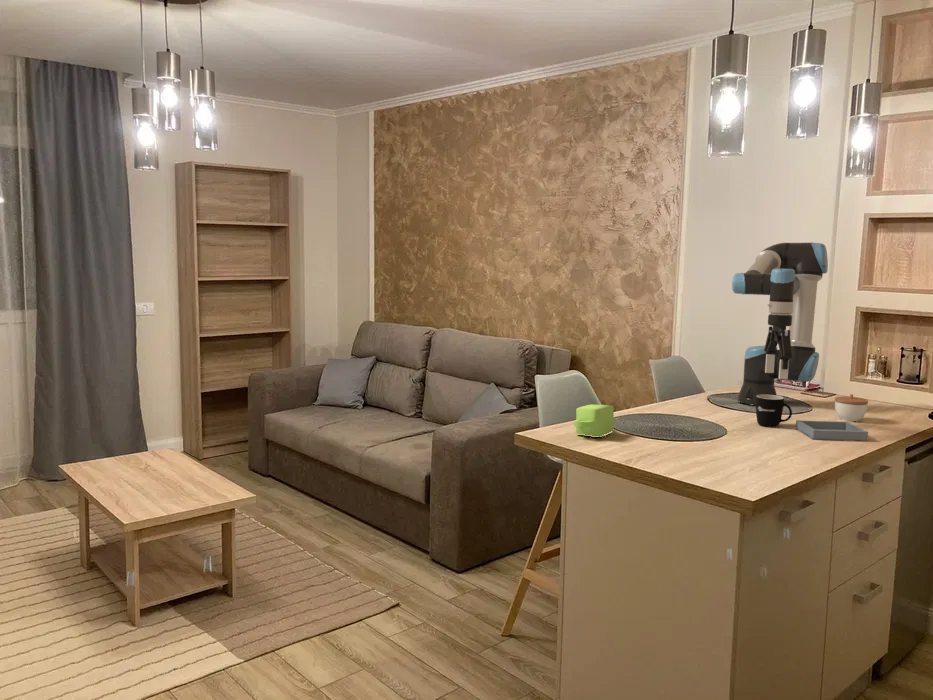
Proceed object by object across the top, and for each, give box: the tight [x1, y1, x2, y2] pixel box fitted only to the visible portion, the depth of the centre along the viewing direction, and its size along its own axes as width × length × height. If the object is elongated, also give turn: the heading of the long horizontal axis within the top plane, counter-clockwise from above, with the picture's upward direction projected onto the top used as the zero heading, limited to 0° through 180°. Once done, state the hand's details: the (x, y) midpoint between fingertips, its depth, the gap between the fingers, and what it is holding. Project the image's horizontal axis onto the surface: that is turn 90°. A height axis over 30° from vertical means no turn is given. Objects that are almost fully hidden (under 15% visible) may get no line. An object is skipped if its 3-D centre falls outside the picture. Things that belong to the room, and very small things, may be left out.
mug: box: [755, 395, 793, 428], centre depth 259 cm, size 12×9×10 cm
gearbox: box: [573, 403, 615, 437], centre depth 244 cm, size 18×10×10 cm, turn 145°
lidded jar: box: [834, 393, 869, 423], centre depth 271 cm, size 11×11×9 cm
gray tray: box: [795, 419, 869, 442], centre depth 248 cm, size 15×17×3 cm
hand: (776, 375), depth 257 cm, fingers open, 13 cm apart
